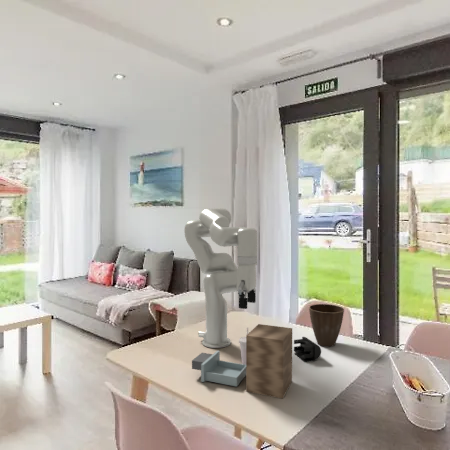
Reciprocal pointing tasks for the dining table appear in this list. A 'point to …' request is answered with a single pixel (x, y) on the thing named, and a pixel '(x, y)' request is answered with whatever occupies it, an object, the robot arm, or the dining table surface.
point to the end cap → (307, 350)
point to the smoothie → (243, 348)
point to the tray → (218, 369)
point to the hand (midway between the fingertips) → (247, 305)
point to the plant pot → (326, 323)
